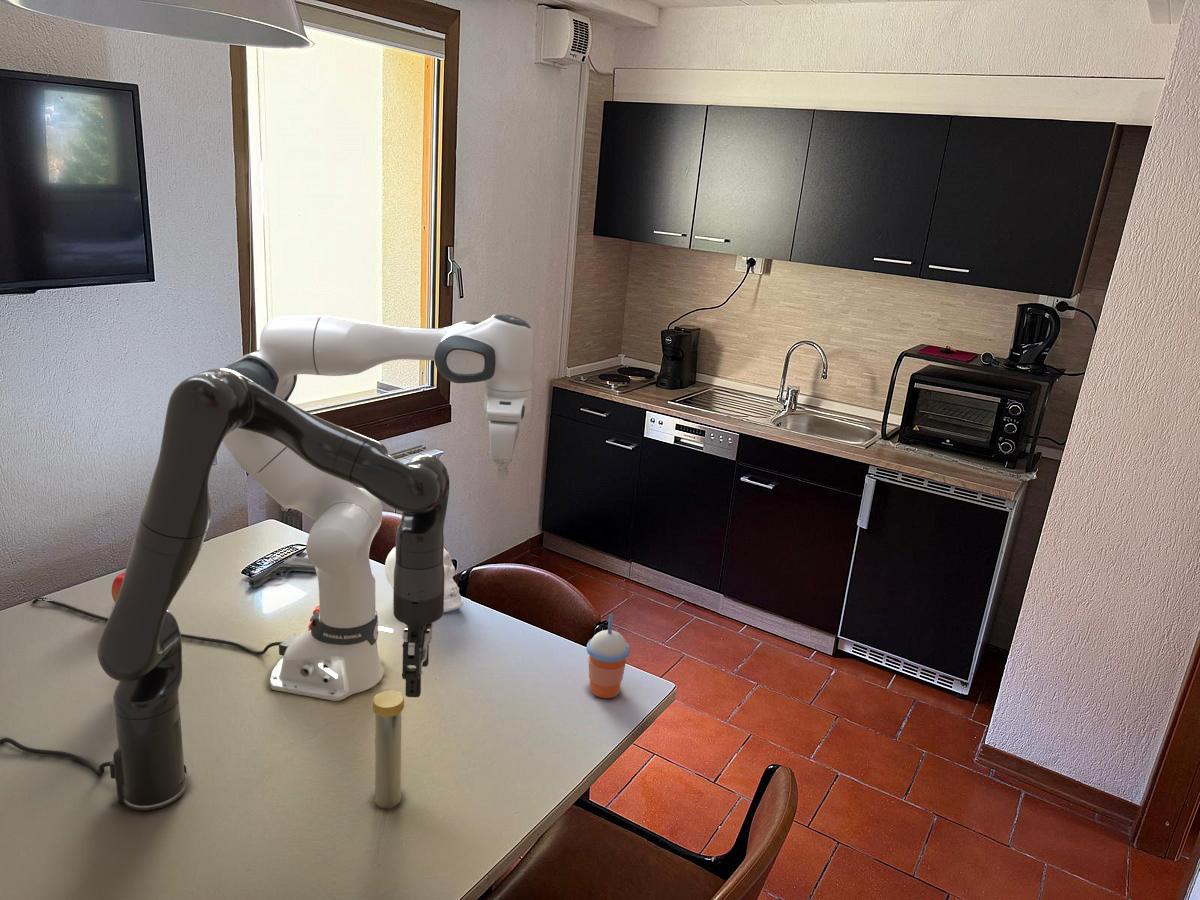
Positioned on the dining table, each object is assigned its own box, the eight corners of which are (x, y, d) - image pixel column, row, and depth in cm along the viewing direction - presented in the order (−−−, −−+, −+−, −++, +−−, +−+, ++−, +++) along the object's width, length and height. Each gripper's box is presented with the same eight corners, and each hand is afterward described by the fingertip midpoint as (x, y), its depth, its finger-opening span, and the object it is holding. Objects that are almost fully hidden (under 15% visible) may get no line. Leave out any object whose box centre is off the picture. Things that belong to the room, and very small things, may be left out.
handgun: (292, 594, 211) (247, 586, 213) (325, 565, 228) (283, 558, 229) (291, 586, 211) (246, 578, 212) (325, 557, 227) (283, 550, 229)
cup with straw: (621, 706, 176) (629, 628, 171) (578, 698, 178) (585, 621, 173) (629, 682, 185) (636, 608, 180) (588, 675, 186) (594, 601, 181)
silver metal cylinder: (372, 808, 143) (372, 708, 137) (378, 791, 147) (378, 693, 141) (398, 809, 143) (399, 709, 138) (402, 792, 147) (403, 694, 142)
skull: (448, 622, 203) (451, 561, 199) (372, 599, 211) (374, 540, 207) (477, 602, 215) (480, 543, 211) (405, 581, 223) (406, 524, 219)
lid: (369, 716, 137) (369, 707, 137) (376, 698, 142) (376, 689, 141) (401, 718, 138) (401, 708, 137) (406, 700, 142) (406, 690, 142)
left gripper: (401, 565, 136) (400, 655, 140) (385, 608, 122) (384, 706, 127) (449, 567, 136) (446, 657, 141) (438, 610, 123) (435, 708, 127)
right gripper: (496, 387, 172) (494, 452, 176) (485, 413, 153) (482, 486, 157) (528, 390, 172) (524, 455, 176) (520, 416, 153) (516, 488, 157)
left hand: (417, 680), depth 134 cm, fingers open, 8 cm apart
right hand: (504, 470), depth 166 cm, fingers open, 8 cm apart
